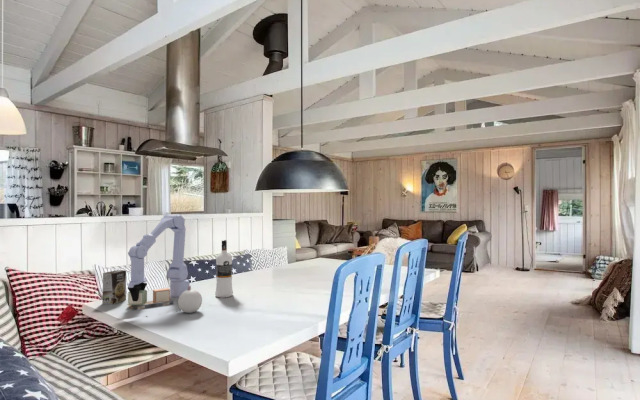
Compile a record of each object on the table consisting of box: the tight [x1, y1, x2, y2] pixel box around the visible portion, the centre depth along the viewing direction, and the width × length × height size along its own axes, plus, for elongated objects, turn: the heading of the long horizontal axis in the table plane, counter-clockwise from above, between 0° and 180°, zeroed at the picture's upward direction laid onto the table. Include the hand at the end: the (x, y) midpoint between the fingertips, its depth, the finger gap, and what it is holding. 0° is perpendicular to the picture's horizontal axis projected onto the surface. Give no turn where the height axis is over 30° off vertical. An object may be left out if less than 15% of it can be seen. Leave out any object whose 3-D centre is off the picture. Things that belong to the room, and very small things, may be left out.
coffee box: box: [102, 269, 127, 305], centre depth 190 cm, size 9×6×16 cm
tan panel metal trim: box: [127, 300, 174, 311], centre depth 184 cm, size 18×13×3 cm
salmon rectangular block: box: [152, 287, 171, 303], centre depth 189 cm, size 4×7×6 cm, turn 127°
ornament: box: [177, 285, 203, 314], centre depth 174 cm, size 10×10×12 cm
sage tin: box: [127, 289, 148, 306], centre depth 182 cm, size 4×7×6 cm, turn 92°
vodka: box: [214, 239, 234, 299], centre depth 206 cm, size 9×9×30 cm
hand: (137, 299), depth 182 cm, fingers closed on sage tin, 4 cm apart
